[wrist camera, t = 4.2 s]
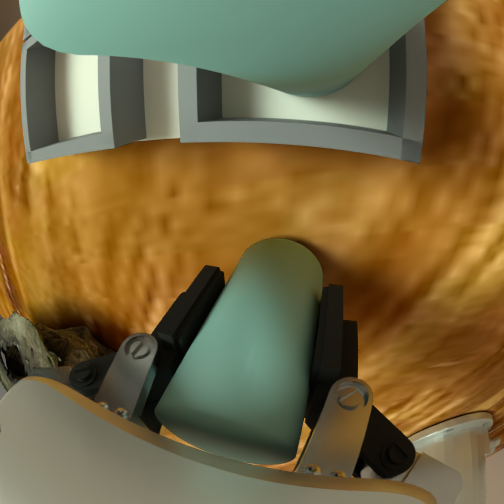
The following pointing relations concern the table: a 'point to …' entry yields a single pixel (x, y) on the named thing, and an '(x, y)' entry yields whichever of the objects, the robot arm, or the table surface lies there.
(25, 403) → the robot arm
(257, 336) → the teal peg
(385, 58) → the pin board
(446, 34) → the table surface
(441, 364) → the table surface
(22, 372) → the hollow geode rock
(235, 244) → the table surface
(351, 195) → the table surface
